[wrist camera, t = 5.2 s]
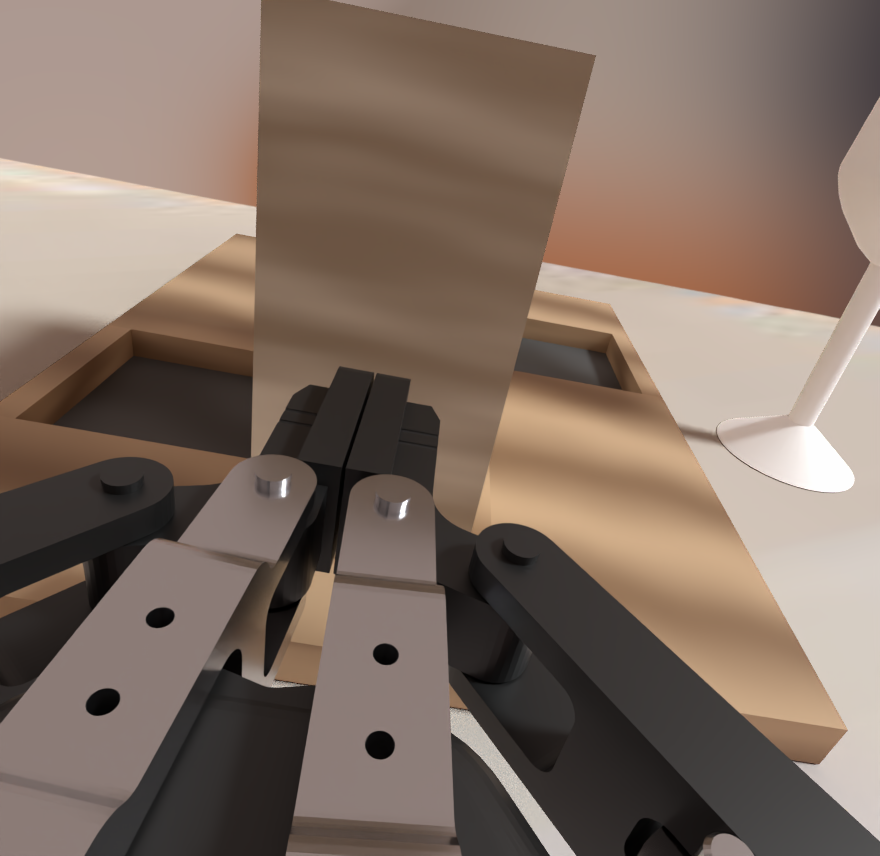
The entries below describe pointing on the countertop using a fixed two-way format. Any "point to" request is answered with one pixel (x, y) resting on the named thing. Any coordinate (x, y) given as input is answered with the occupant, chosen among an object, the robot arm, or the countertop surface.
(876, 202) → the champagne flute
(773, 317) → the countertop surface
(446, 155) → the birch block
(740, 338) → the countertop surface
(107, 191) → the countertop surface
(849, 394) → the countertop surface
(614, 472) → the trap deck
